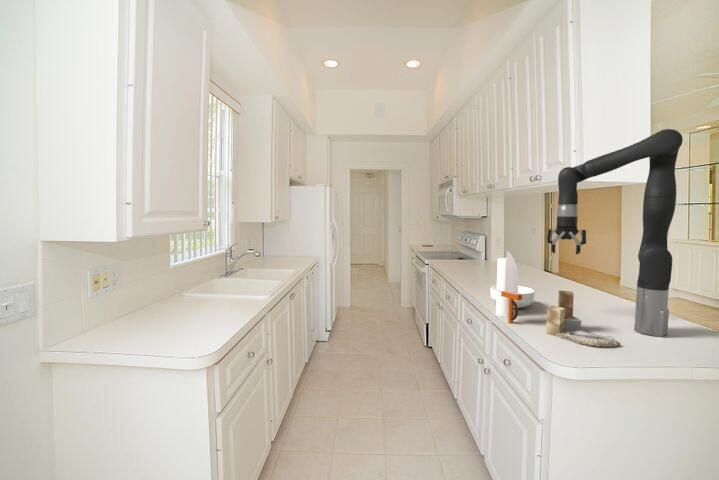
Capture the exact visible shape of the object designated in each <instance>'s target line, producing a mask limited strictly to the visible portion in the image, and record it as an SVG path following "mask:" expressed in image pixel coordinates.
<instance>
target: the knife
mask: <svg viewBox="0 0 719 480" xmlns="http://www.w3.org/2000/svg"><path fill="white" fill-rule="evenodd" d="M505 258H506V276H505V291H502V292H501V296H503V297H507V298H509V315H508V317H507V320H508V321H507V322H508V324H513V323H514V321H516V319H517V318H518V314H519V308H518V307H517V304H516V302H515V301H514V299H515V300H522V295H520V294H518V286H519V273H518V272H519V271H518V265H517V264H516V260H515V261H514V259H515V258H514V256H513V255H512V253H511V252H510V251H509V250H506V257H505ZM513 305H514V307H515V308H513Z"/></svg>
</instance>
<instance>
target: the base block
mask: <svg viewBox="0 0 719 480" xmlns="http://www.w3.org/2000/svg"><path fill="white" fill-rule="evenodd" d="M573 331H582V320H581V319H579V318H577V317H576V316H574V315H573V320H570V319H564V333H566V332H573Z"/></svg>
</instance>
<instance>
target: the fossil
mask: <svg viewBox="0 0 719 480" xmlns="http://www.w3.org/2000/svg"><path fill="white" fill-rule="evenodd" d="M558 338H561V339H562V340H565V341H567V342H572V343H577V344H578V345H581V344H582V345H585V346H591V347H597V348H600V347H601V348H618V347H620V345H621V342H620V341H618V340H616V339H615V338H614V337H613V336H610V335H602V334H601V335H600V334H596V333H590V332H587V331H584V330H581V331H573V332H566V333H565V332H564V333H559V337H558Z"/></svg>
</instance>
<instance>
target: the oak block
mask: <svg viewBox="0 0 719 480" xmlns="http://www.w3.org/2000/svg"><path fill="white" fill-rule="evenodd" d="M546 311H547V312H546V327H545V328H546V330H545V334H546V335H549V336H553V337H557V338H560V337H559V333H565V332H564V315H565V308H561V307H558V306H556V305H550V306H548V307H547V308H546Z"/></svg>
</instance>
